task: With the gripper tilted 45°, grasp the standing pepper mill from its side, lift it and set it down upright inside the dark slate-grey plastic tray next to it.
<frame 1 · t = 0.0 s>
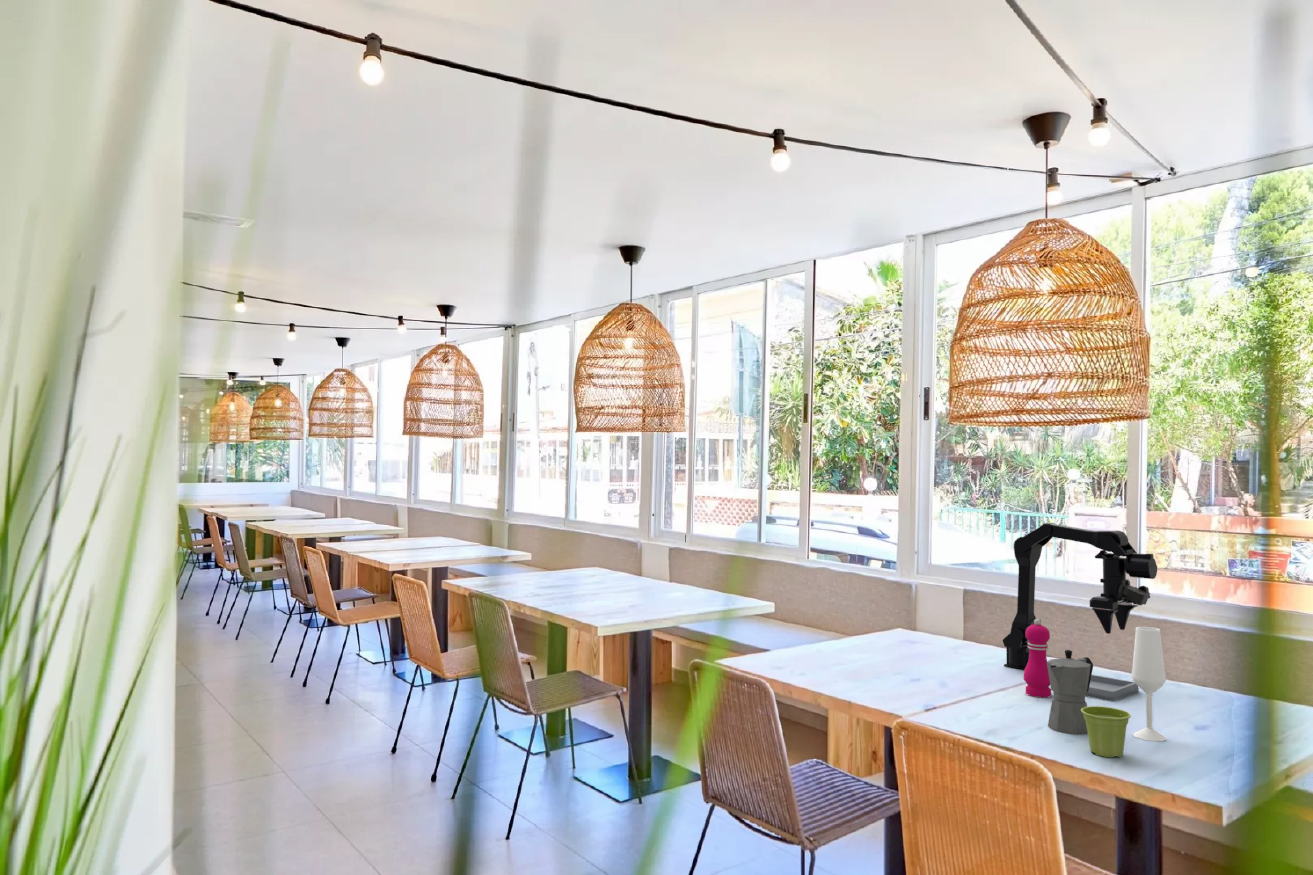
hand: (1115, 631, 245), 15 cm above the table, tool pointing down, fingers open, 9 cm apart
plant pot: (1106, 754, 184), on the table
champagne flute: (1149, 737, 196), on the table
coffeepot: (1072, 728, 202), on the table
pepper mill: (1038, 695, 233), on the table
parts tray: (1095, 690, 237), on the table
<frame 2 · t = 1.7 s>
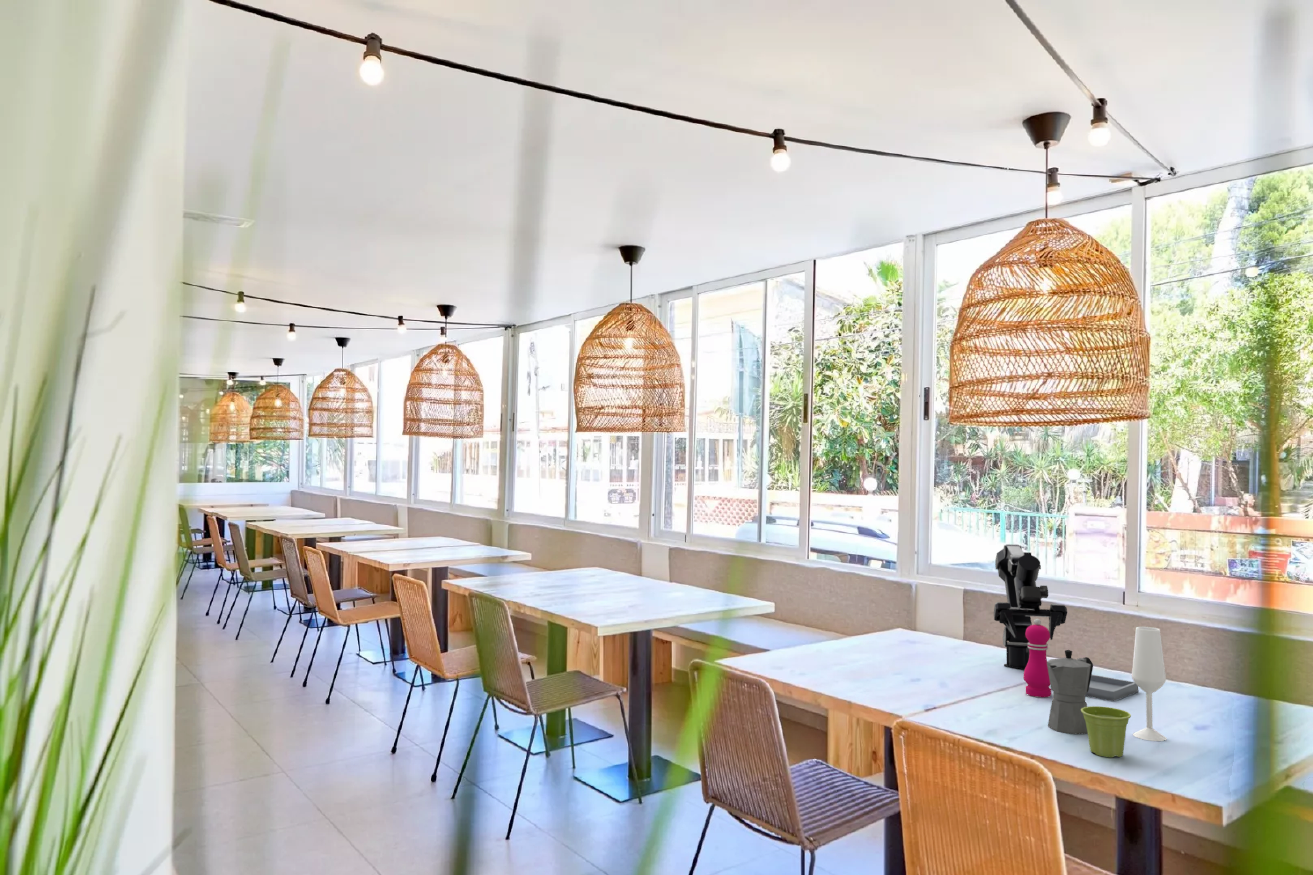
hand: (1033, 638, 241), 13 cm above the table, tool tilted 45°, fingers open, 9 cm apart
nothing on the table moved.
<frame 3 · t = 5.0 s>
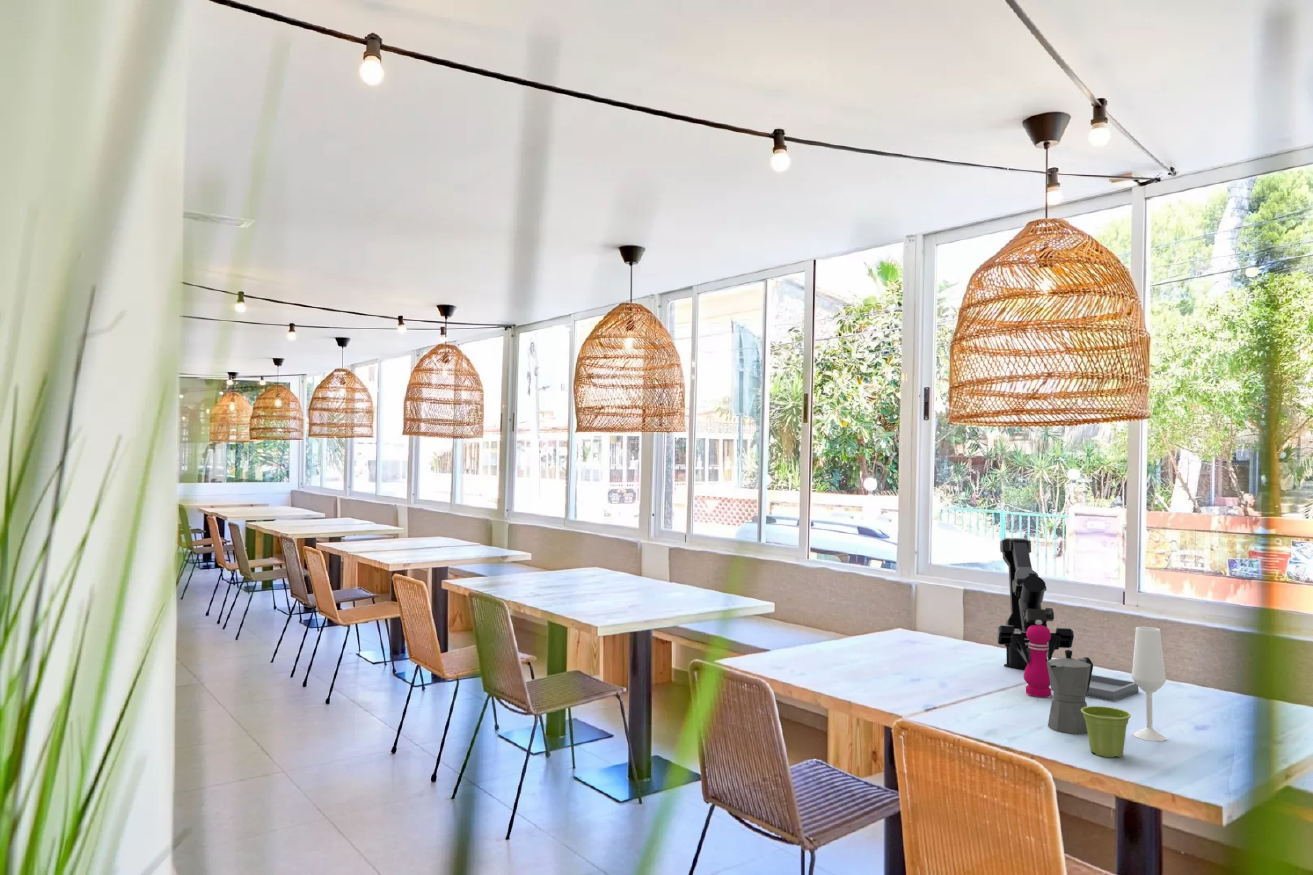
hand: (1038, 662, 232), 9 cm above the table, tool tilted 45°, fingers closed on pepper mill, 5 cm apart
pepper mill: (1038, 694, 233), on the table, touching gripper
everything else where it was.
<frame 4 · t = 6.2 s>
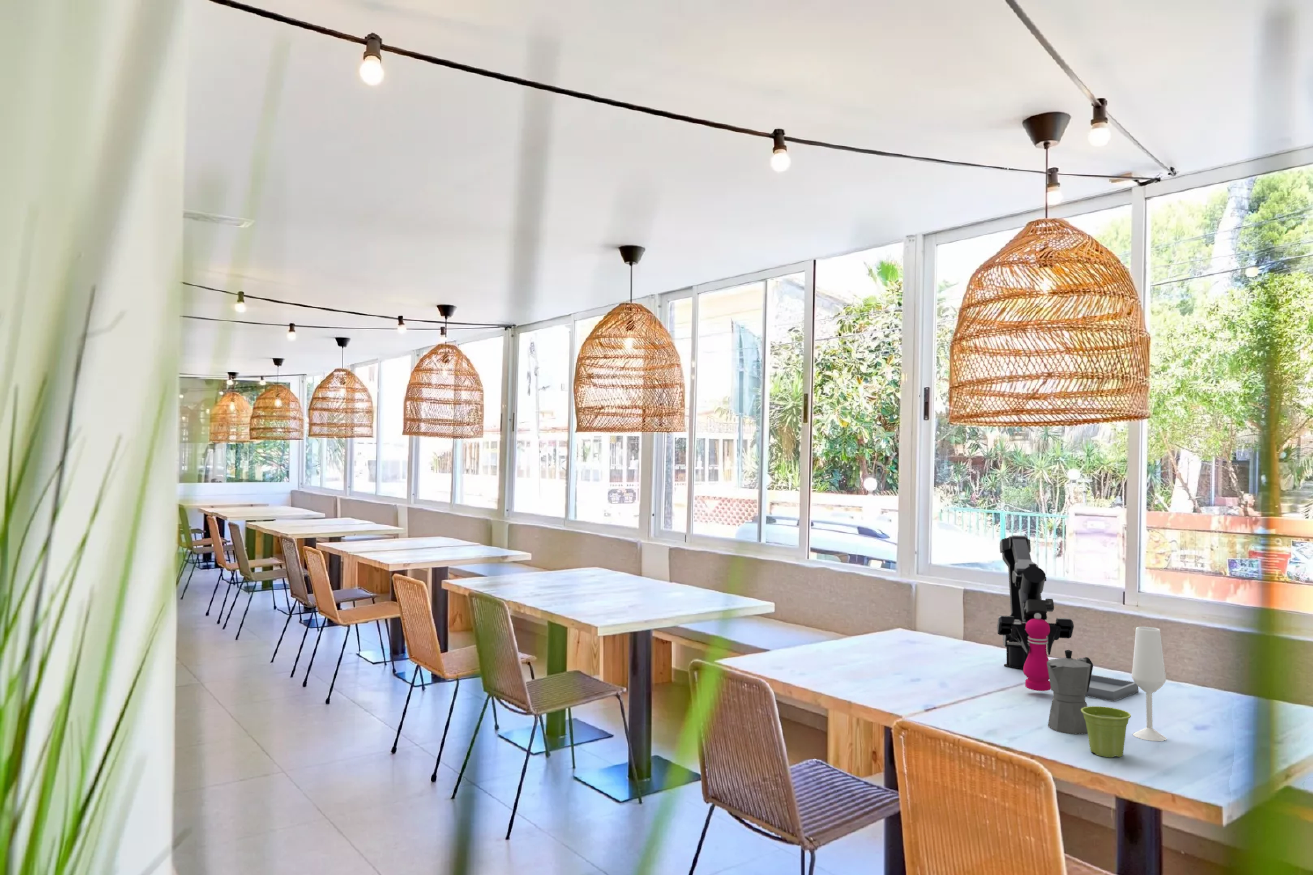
hand: (1038, 653, 232), 11 cm above the table, tool tilted 45°, fingers closed on pepper mill, 5 cm apart
pepper mill: (1038, 688, 233), point 1 cm above the table, touching gripper
everything else where it was.
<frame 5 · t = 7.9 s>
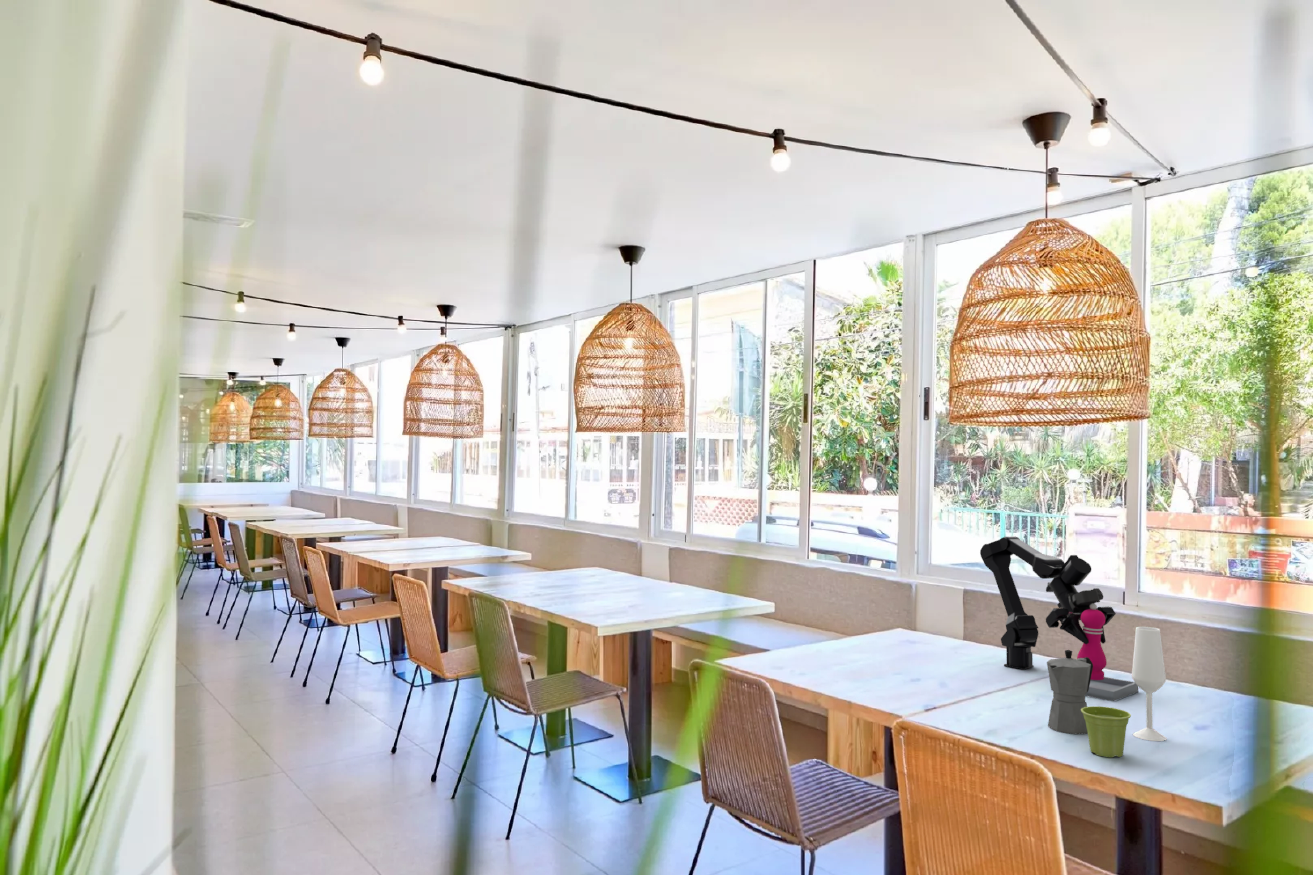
hand: (1095, 642, 236), 13 cm above the table, tool tilted 45°, fingers closed on pepper mill, 5 cm apart
pepper mill: (1091, 677, 237), point 3 cm above the table, touching gripper
everything else where it was.
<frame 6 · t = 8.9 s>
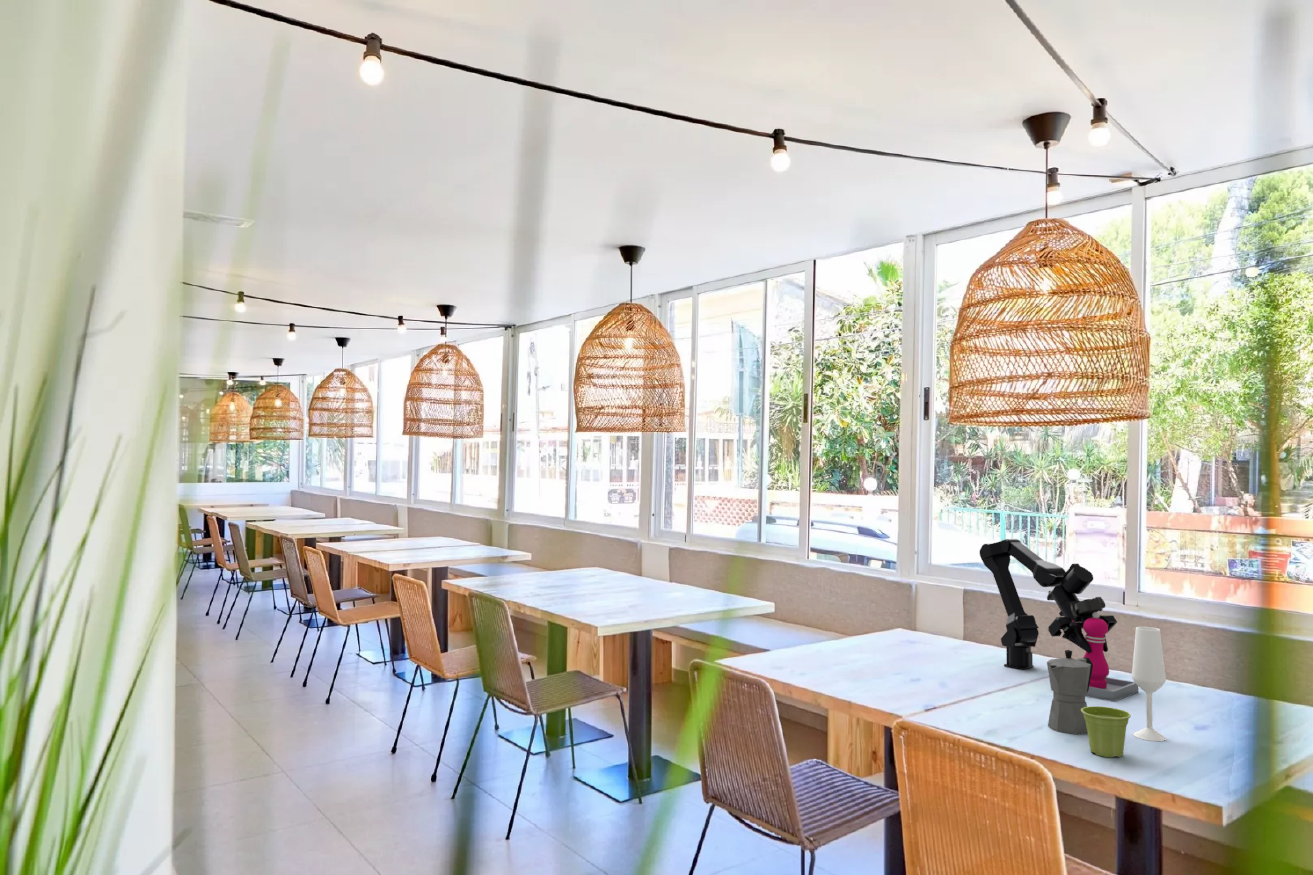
hand: (1098, 651, 236), 11 cm above the table, tool tilted 45°, fingers closed on pepper mill, 5 cm apart
pepper mill: (1093, 686, 237), point 1 cm above the table, touching gripper
everything else where it was.
when the fingers open (11 cm above the table, at t = 9.4 s): pepper mill stays where it is, resting on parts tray.
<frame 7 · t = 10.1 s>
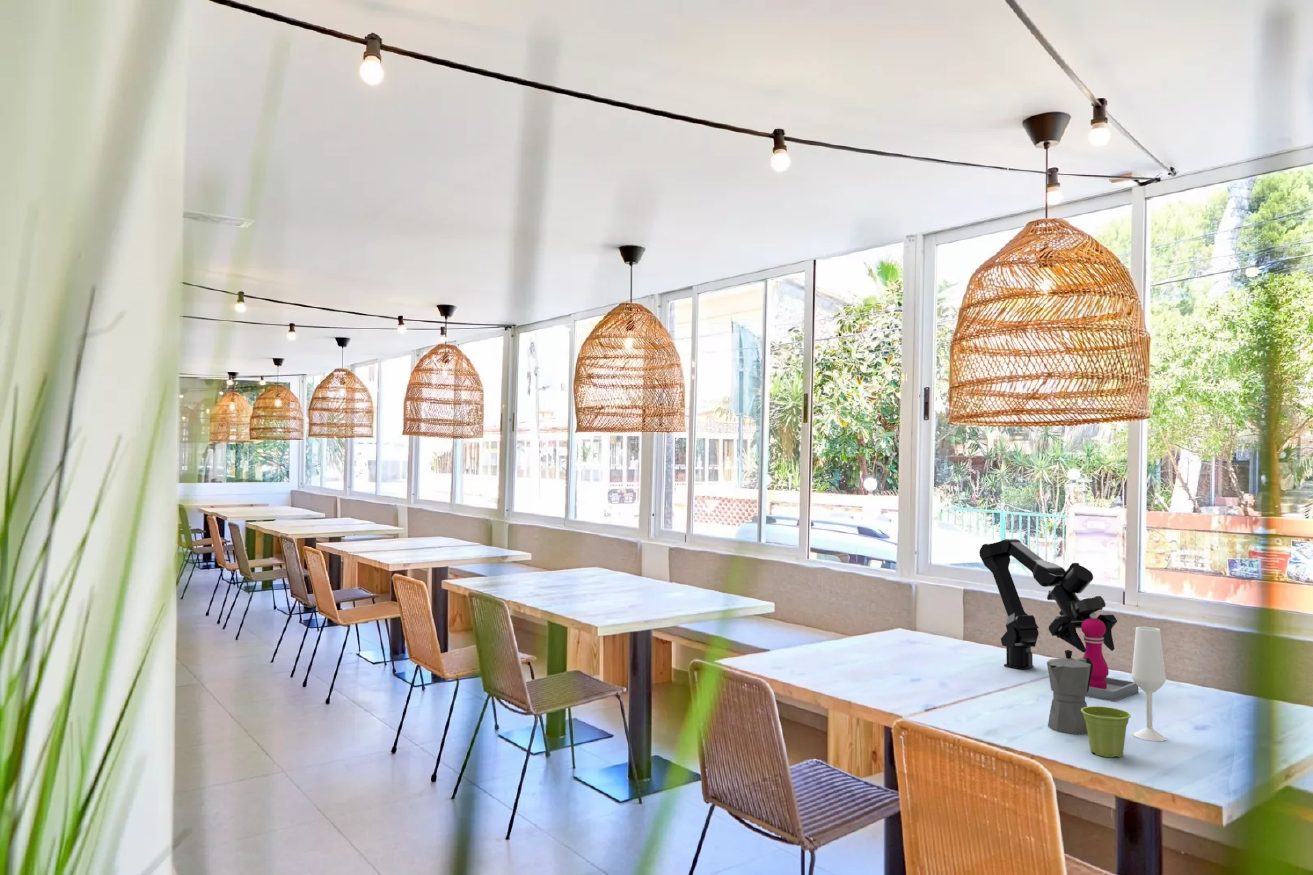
hand: (1099, 650, 236), 11 cm above the table, tool tilted 45°, fingers open, 9 cm apart
pepper mill: (1093, 687, 237), point 1 cm above the table, touching gripper, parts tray
everything else where it was.
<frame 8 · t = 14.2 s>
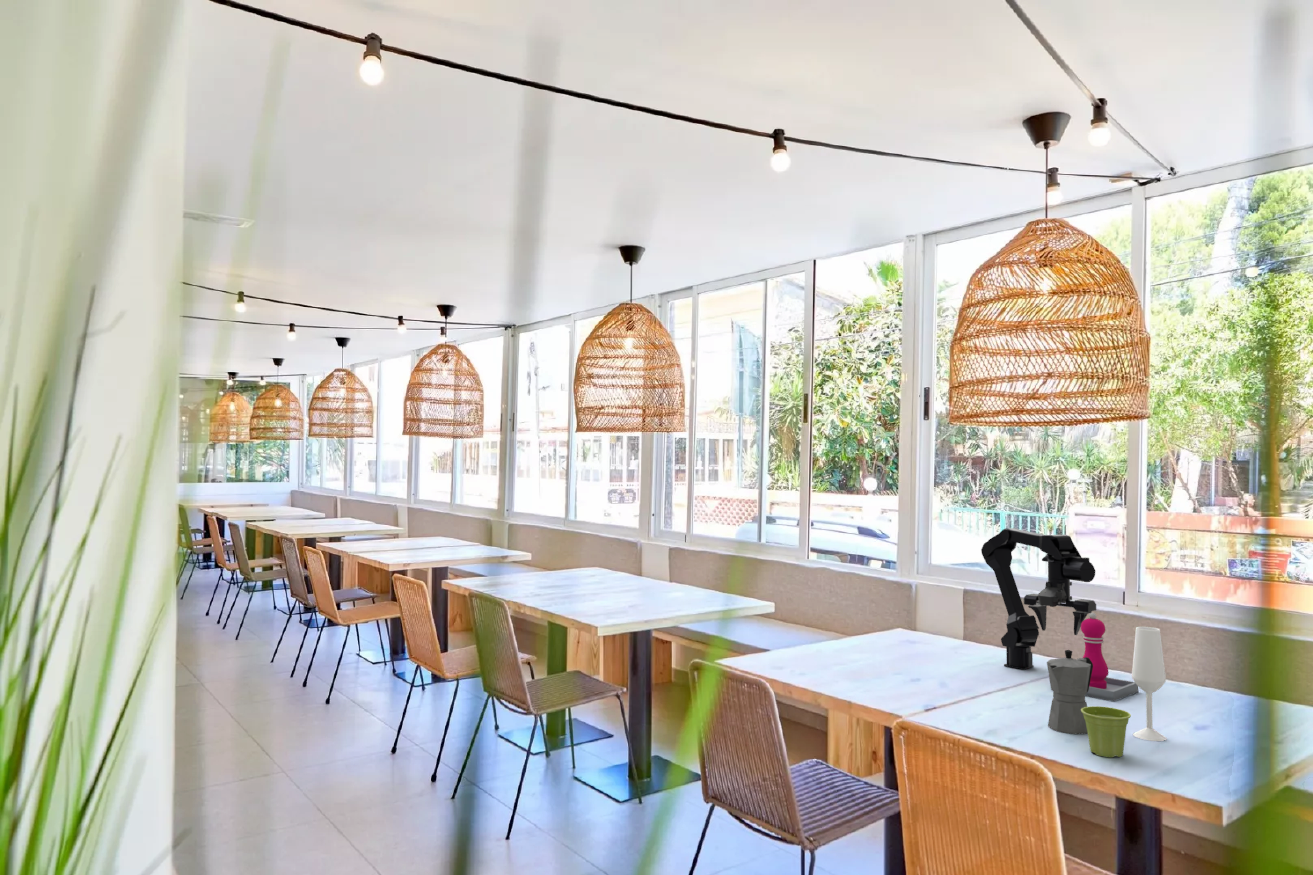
hand: (1059, 632, 252), 13 cm above the table, tool pointing down, fingers open, 9 cm apart
pepper mill: (1093, 687, 237), point 1 cm above the table, touching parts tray
everything else where it was.
at the end: pepper mill inside the target area on the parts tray (0.5 cm from its centre), point 0.8 cm above the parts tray's base; pepper mill tilted 0°; the gripper is holding nothing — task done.
